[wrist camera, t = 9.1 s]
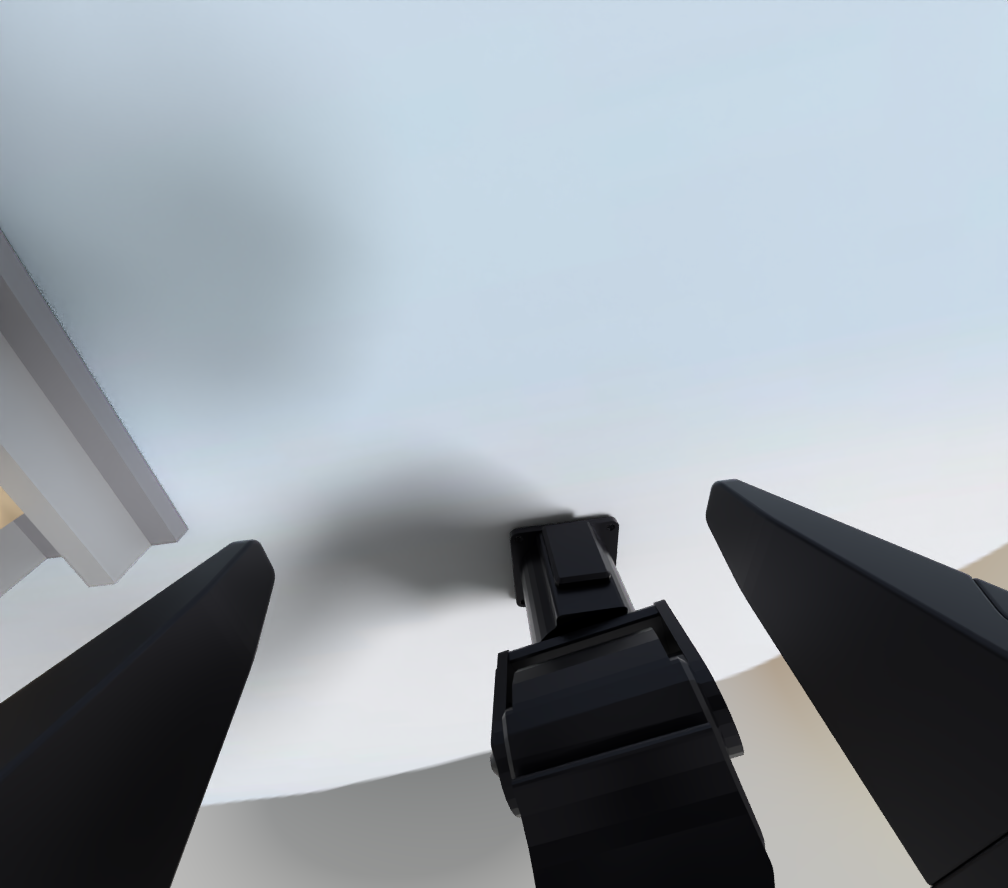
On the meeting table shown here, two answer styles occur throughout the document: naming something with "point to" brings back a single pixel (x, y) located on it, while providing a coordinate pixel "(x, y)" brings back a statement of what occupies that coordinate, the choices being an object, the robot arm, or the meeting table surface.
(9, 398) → the door track
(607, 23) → the meeting table surface
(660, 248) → the meeting table surface
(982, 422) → the meeting table surface
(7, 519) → the door panel
